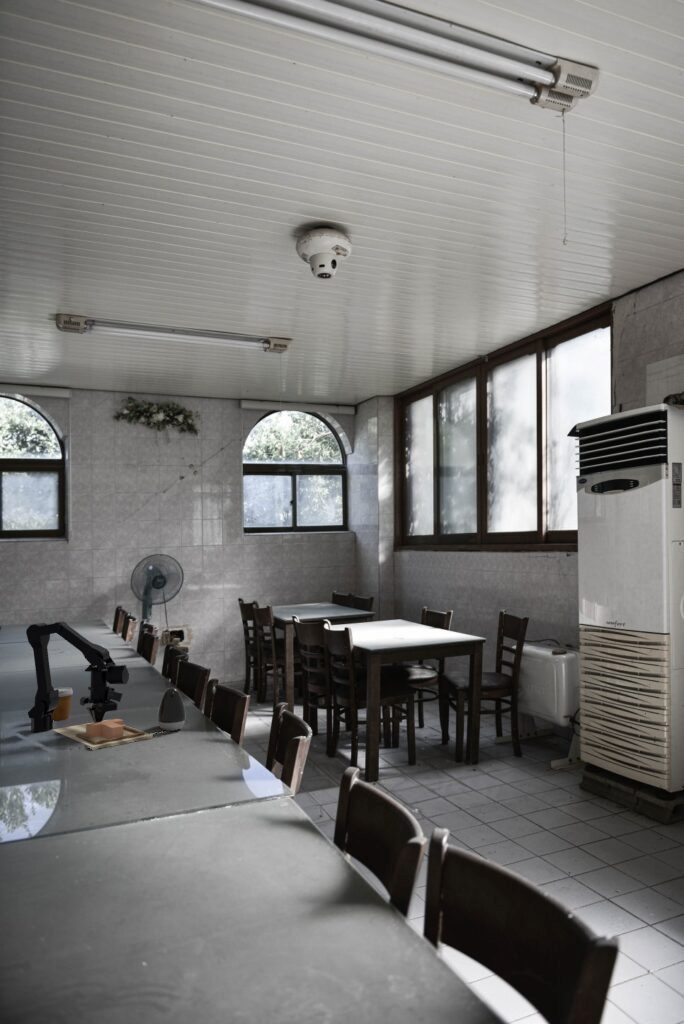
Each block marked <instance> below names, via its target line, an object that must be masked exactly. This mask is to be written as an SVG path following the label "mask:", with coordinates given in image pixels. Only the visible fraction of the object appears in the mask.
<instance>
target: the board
mask: <svg viewBox="0 0 684 1024" xmlns="http://www.w3.org/2000/svg"><path fill="white" fill-rule="evenodd" d="M107 720H108V719H105V720H104V719H103V721H107ZM91 723H94V721H92V722H89V723H81V724H76V725H70V726H65V727H60V728H55V729H54V728H53V729H52V731H54V732H56V733H58V734H61V735H63V736H65V737H67V738H70V739H71V740H74V741H77V742H79V743H81V744H84V746H85V747H84V748H86V747H87V748H86V749H88V748H90V749H89V750H91V749H92V750H91V751H94V750H93V749H96V750H100V749H99V748H101V749H106V748H110V746H111V747H114V746H115V745H116V746H120V744H121V745H125V743H126V744H130V742H131V743H135V741H136V742H139V741H144V740H149V739H153V738H154V736H153V734H151V733H149V732H145V731H142V730H139V729H137V728H133V727H130V726H127V725H125V724H123V736H121V737H116V738H110V739H109V738H106V737H104V736H98V737H93V738H90V737H88V736H86V724H91ZM116 746H115V747H116ZM105 747H106V748H105Z"/></svg>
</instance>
